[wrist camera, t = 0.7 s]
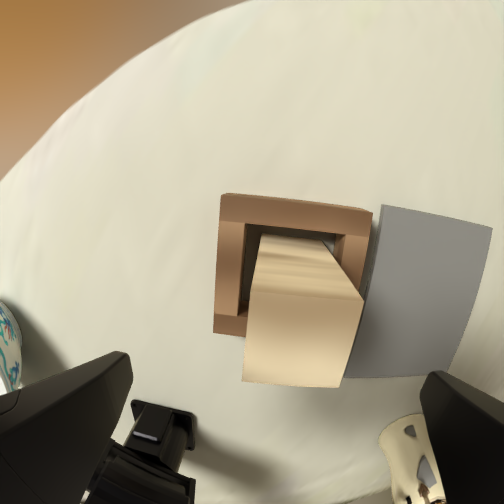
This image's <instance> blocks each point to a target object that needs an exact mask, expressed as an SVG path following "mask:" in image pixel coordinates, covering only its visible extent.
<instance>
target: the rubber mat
mask: <svg viewBox="0 0 504 504" xmlns="http://www.w3.org/2000/svg"><path fill="white" fill-rule="evenodd" d="M492 229H493V228H491V227H487V226H483V225H479V224H475V223H471V222H467V221H462V220H458V219H454V218H449V217H445V216H440V215H435V214H430V213H425V212H420V211H415V210H410V209H405V208H399V207H394V206H388V205H381V212H380V219H379V225H378V231H377V237H376V243H375V249H374V254H373V259H372V264H371V269H370V274H369V279H368V283H367V288H366V292H365V296H364V304H363V308H362V312H361V316H360V320H359V324H358V327H357V331H356V334H355V338H354V341H353V345H352V348H351V351H350V355H349V358H348V361H347V364H346V367H345V370H344V374H343V376H344V378H382V377H404V376H419V375H428V374H429V373H430V372H432V371H438V370H442V371H444V372H447V370H448V368H449V366H450V364H451V362H452V359H453V357H454V355H455V353H456V350H457V348H458V346H459V343H460V341H461V338H462V336H463V333H464V331H465V328H466V325H467V323H468V320H469V317H470V314H471V311H472V308H473V305H474V302H475V299H476V296H477V293H478V289H479V286H480V282H481V279H482V275H483V271H484V267H485V263H486V259H487V254H488V250H489V245H490V240H491V235H492Z"/></svg>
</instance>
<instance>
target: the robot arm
mask: <svg viewBox="0 0 504 504" xmlns="http://www.w3.org/2000/svg"><path fill="white" fill-rule="evenodd" d="M132 382H133V372H132V366H131V361H130V357H129V355H128V354H127V353H124V352H120V351H114V352H111V353H109V354H106V355H104V356H102V357H99V358H97V359H94V360H92V361H89V362H87V363H85V364H82V365H80V366H77V367H75V368H72V369H70V370H67V371H65V372H62V373H59V374H57V375H54V376H52V377H49V378H47V379H44V380H41V381H39V382H36V383H33V384H31V385H28V386H25V387H23V388H21V389H17V390H14V391H12V392H9V393H6V394H3V395H0V504H80V502H81V499H82V497H83V495H84V493H85V491H88V492H90V494H89V496H88V498H87V500H86V501H85V503H84V504H194V498H195V484H196V479H193V478H191V477H190V478H188V477H186V476H183V475H181V474H179V473H178V470H179V467H180V464H181V461H182V458H183V454H184V451H185V450H190V451H192V450H194V448H195V442H194V428H193V416H192V414H190V413H188V412H184V411H179V410H174V409H170V408H165V407H161V406H157V405H153V404H149V403H145V402H142V401H138V400H132V401H131V408H132V412H133V416H134V420H135V424H134V425H133V427H132V429H131V431H130V433H129V435H128V437H127V439H126V441H125V443H124V445H123V446H122V445H120V444H118V443H117V442H115V440H113V439H112V438H111V436H112V433H113V431H114V429H115V427H116V425H117V423H118V421H119V418H120V416H121V413H122V410H123V407H124V404H125V402H126V399H127V396H128V393H129V391H130V388H131V385H132ZM420 401H421V405H422V410H423V414H424V419H425V423H426V428H427V432H428V437H429V440H430V444H431V447H432V450H433V453H434V457H435V460H436V464H437V467H438V471H439V474H440V478H441V482H442V486H443V490H444V494H445V499H446V503H447V504H504V403H503V402H501V401H499V400H497V399H495V398H494V397H492V396H490V395H488V394H486V393H484V392H482V391H480V390H478V389H476V388H474V387H472V386H471V385H469V384H467V383H465V382H463V381H461V380H459V379H457V378H455V377H453V376H452V375H450V374H448V373H446V372H444V371H442V370H438V371H432V372H430V373H429V374H428V376H427V378H426V380H425V383H424V385H423V387H422V389H421V391H420Z"/></svg>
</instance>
